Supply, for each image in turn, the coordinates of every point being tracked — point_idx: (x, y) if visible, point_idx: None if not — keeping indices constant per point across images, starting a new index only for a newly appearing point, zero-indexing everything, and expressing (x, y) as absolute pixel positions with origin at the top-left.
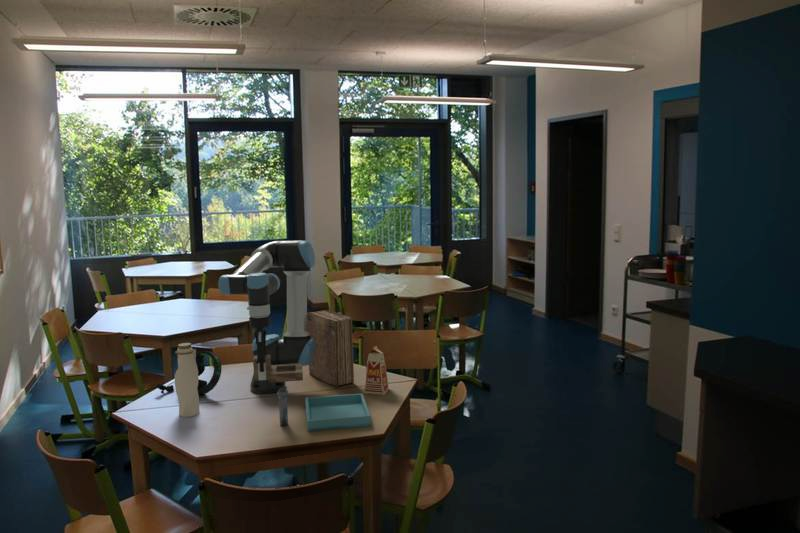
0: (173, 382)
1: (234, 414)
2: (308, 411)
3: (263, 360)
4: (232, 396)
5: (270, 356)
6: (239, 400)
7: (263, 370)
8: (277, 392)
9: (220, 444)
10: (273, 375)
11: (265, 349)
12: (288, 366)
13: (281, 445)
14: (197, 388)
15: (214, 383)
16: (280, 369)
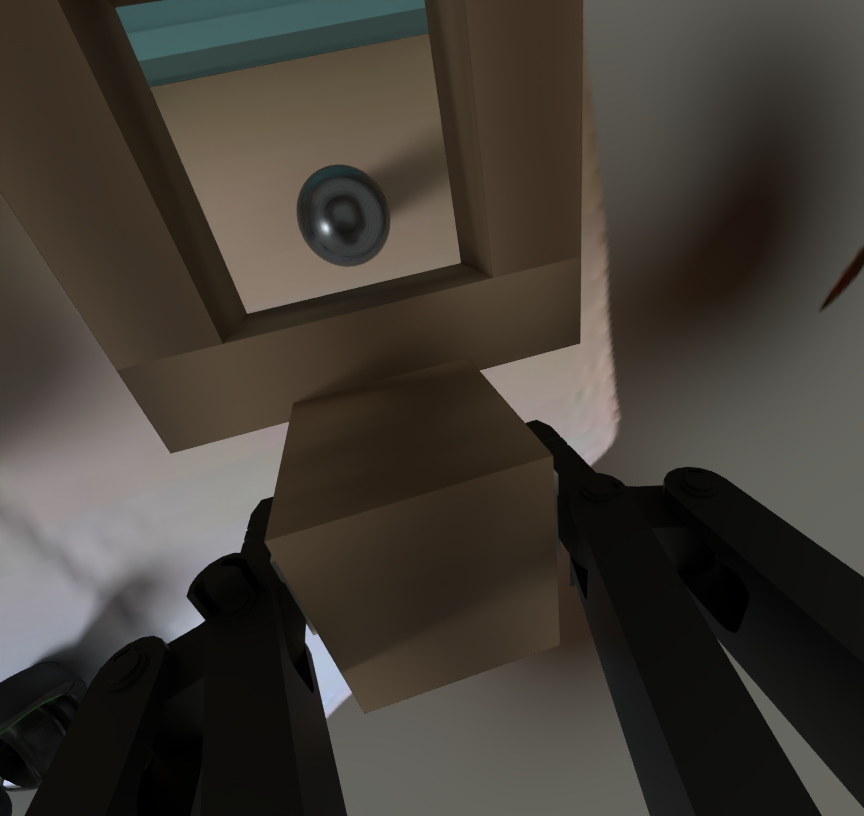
0: (12, 790)
1: (244, 480)
2: (267, 16)
3: (732, 500)
4: (7, 574)
5: (303, 510)
6: (51, 528)
7: (550, 430)
8: (364, 261)
9: (541, 416)
10: (573, 286)
11: (129, 757)
12: (124, 131)
13: (592, 167)
14: (67, 706)
15: (20, 687)
16: (209, 280)
